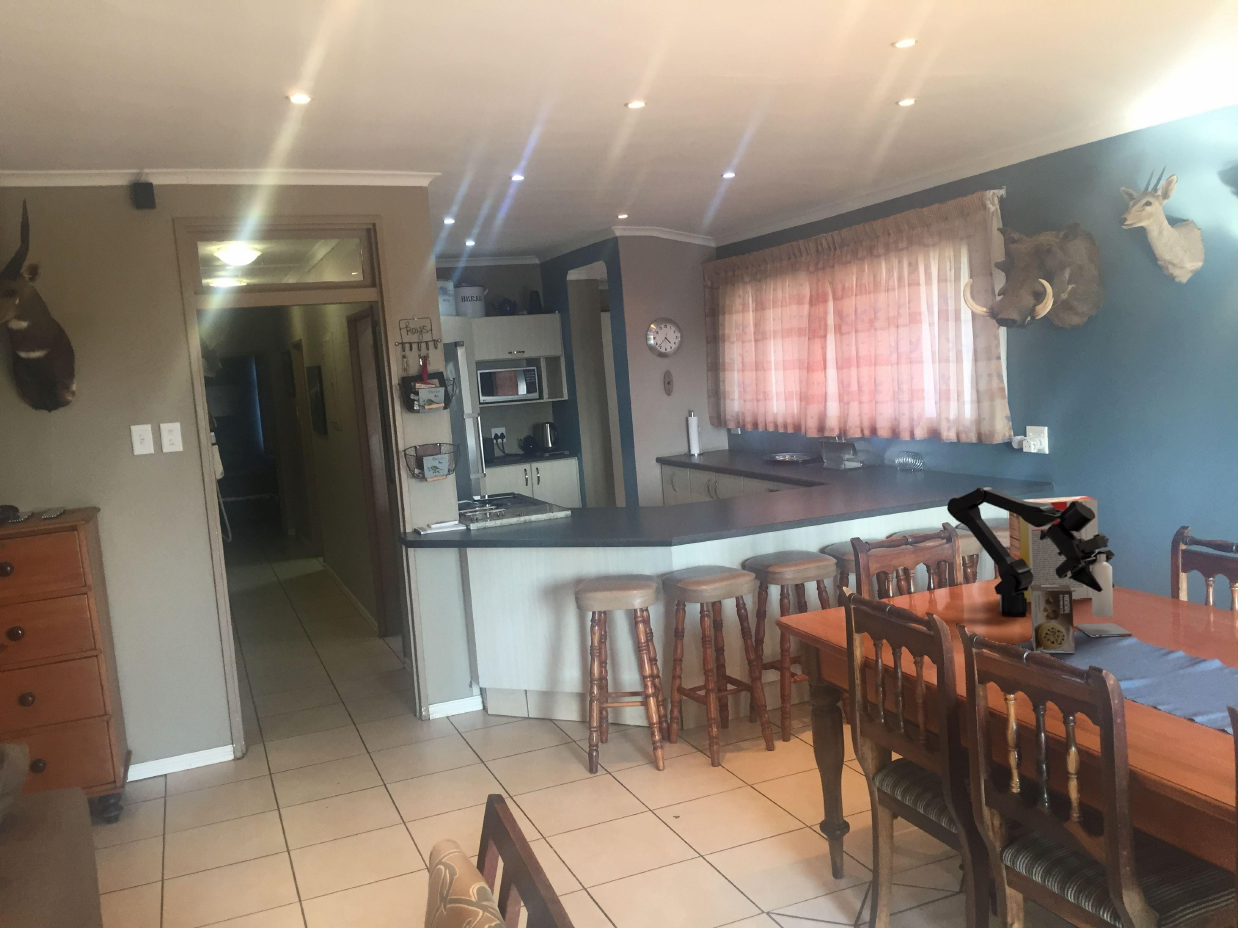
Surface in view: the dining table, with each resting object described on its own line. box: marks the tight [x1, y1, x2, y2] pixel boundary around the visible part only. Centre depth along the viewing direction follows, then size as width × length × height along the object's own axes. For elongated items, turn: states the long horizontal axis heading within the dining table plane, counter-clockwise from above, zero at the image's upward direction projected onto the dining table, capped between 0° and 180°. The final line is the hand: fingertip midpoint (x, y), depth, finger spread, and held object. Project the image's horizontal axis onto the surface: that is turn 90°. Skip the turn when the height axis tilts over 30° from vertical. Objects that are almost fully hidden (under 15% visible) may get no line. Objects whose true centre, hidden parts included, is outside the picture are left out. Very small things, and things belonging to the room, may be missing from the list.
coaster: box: [1074, 622, 1133, 637], centre depth 237 cm, size 10×10×1 cm
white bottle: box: [1091, 554, 1114, 618], centre depth 236 cm, size 5×5×16 cm
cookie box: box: [1030, 585, 1076, 654], centre depth 224 cm, size 9×6×16 cm
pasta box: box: [1008, 495, 1099, 603], centre depth 273 cm, size 23×8×30 cm, turn 88°
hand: (1107, 589), depth 235 cm, fingers closed on white bottle, 5 cm apart
